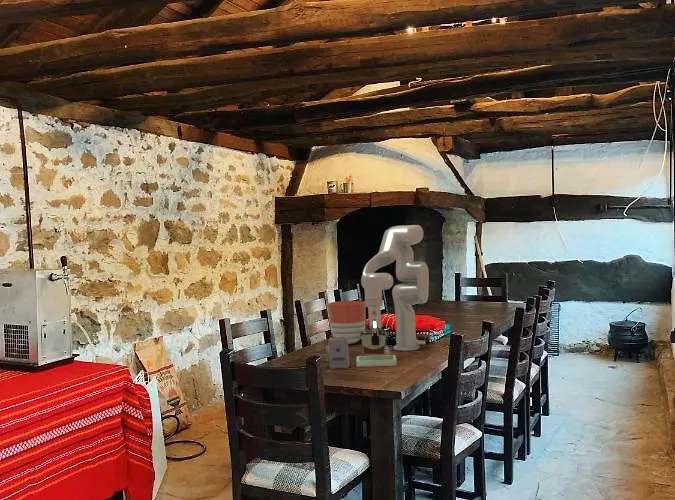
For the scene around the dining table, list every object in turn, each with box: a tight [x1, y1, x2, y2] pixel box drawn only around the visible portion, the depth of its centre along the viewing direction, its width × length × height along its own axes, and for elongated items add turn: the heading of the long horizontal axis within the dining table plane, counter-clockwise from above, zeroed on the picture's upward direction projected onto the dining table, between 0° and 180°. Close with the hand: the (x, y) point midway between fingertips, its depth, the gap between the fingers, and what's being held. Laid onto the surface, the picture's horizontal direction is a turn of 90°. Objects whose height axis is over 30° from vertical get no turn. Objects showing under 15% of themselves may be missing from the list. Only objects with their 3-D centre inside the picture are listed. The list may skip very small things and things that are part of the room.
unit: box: [327, 336, 350, 370], centre depth 264 cm, size 8×9×12 cm
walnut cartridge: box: [325, 344, 329, 363], centre depth 276 cm, size 5×5×7 cm
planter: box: [328, 300, 367, 345], centre depth 321 cm, size 20×20×21 cm
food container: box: [360, 328, 388, 356], centre depth 266 cm, size 12×6×10 cm, turn 71°
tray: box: [355, 354, 397, 368], centre depth 266 cm, size 17×11×2 cm, turn 87°
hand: (375, 343), depth 266 cm, fingers closed on food container, 6 cm apart
